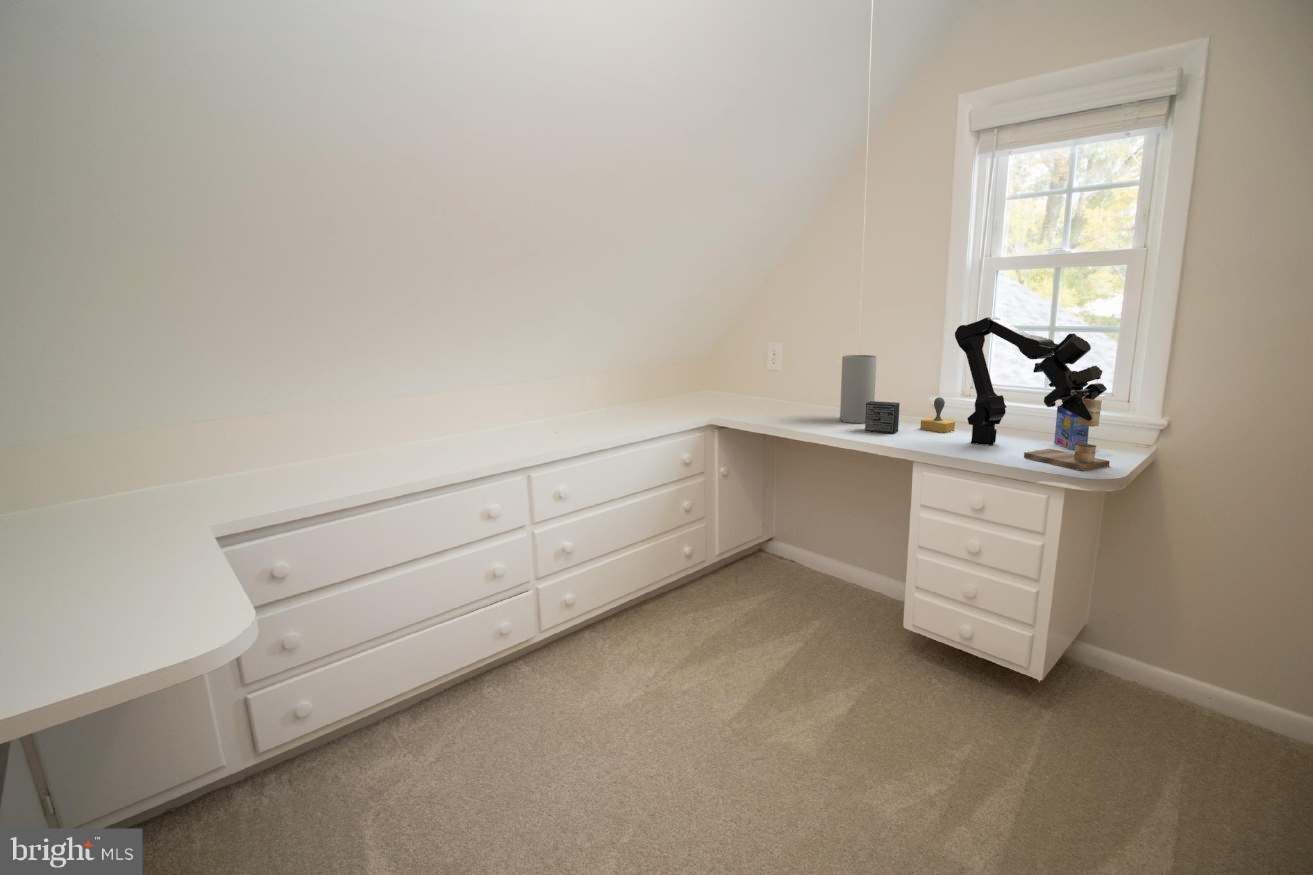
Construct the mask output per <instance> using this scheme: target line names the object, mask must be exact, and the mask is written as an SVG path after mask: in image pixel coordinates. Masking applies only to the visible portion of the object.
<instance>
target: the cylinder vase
mask: <svg viewBox="0 0 1313 875" xmlns="http://www.w3.org/2000/svg"><path fill="white" fill-rule="evenodd" d="M877 360H878V358H877V356H876V355H870V354H869V355H868V354H850V355H849V354H848V355H842V357H841V380H840V382H841V383H840V385H841V386H840V409H839V410H840V412H839V419H840V421H842V422H843V423H847V424H857V425H858V424H865V418H866V403H867V402H870V401H875V400H876V399H875V396H876V382H877V381H876V377H877V376H876V375H877Z"/></svg>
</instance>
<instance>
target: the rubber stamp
mask: <svg viewBox="0 0 1313 875" xmlns="http://www.w3.org/2000/svg"><path fill="white" fill-rule="evenodd" d="M945 404H946V401H945V399H944V398H943V397H941V396H940V397H939V396H938V397H935V399H934V402H933V405H934V406H933V407H934V409H935V414H936V415H935V417H927V418H922V419H921V420H920V428H919V429H920V430H922V429H924V431H928V430H929V432H934V431H937V432H936V433H940V432H942V434H948V432H950V433H952V432H951V431H954V432H955V426H956V422H955V421H954V420H949V419H942V417H941V414H942V411H943V409H944V407H945Z"/></svg>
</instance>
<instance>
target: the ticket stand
mask: <svg viewBox="0 0 1313 875" xmlns="http://www.w3.org/2000/svg"><path fill="white" fill-rule="evenodd" d="M1075 445H1076V446H1075V449H1074V452H1069V451H1064V450H1059V449H1058V450H1057V449H1054V448H1050V447H1049V448H1044V449H1037V450H1032V451H1025V452H1024V453H1023V458H1024V459H1028V460H1033V461H1038V462H1042V463H1047V464H1050V465H1055V466H1060V467H1064V468H1067V467H1068V469H1072V470H1076V469H1078V470H1077V471H1080V470H1086V471H1091V470H1096V469H1100V468H1101V467H1102V468H1106V467H1110V462H1111V461H1110V460H1108V459H1107V460H1106V459H1104V458H1103V459H1102V458H1097V457H1095V456H1096V451H1097V445H1095V444H1089V443H1088V444H1085V443H1077V444H1075ZM1090 469H1091V470H1090Z"/></svg>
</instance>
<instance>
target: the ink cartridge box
mask: <svg viewBox="0 0 1313 875" xmlns="http://www.w3.org/2000/svg"><path fill="white" fill-rule="evenodd" d="M1059 406H1060V405H1057V406H1056V420H1055V429H1054V430H1055V431H1054V444H1056V445H1059V446H1061V447H1063V448H1066V449H1067V450H1075V446H1076V445H1075V444H1077V443H1085V444H1089V443H1088V442H1089V433H1090V432H1089V431H1090V426H1085V425H1079V424H1078V420H1079V416H1078V415H1076V414H1074V413H1072V412H1070V411H1068V410H1065V409H1063V408H1060V407H1059Z"/></svg>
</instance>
